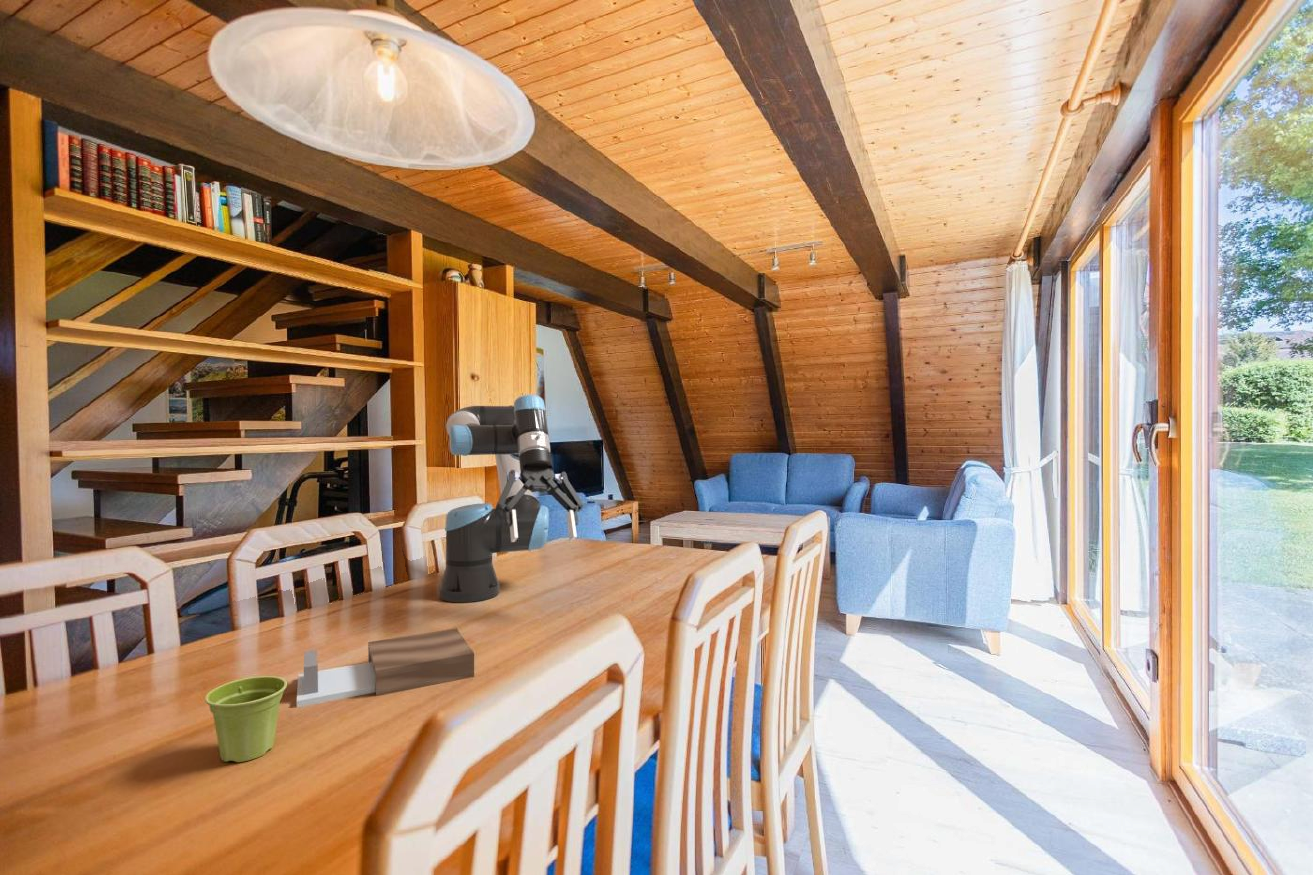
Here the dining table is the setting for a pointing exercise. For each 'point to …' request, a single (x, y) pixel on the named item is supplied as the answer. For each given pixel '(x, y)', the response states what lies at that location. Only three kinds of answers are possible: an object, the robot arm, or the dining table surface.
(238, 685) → the plant pot
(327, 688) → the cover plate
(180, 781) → the dining table surface
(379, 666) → the walnut case
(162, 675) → the dining table surface
